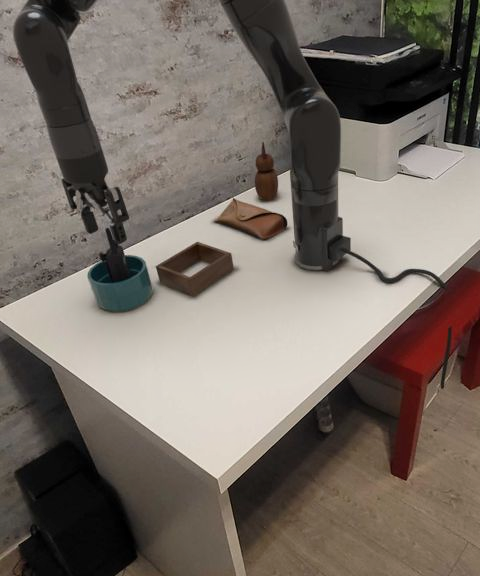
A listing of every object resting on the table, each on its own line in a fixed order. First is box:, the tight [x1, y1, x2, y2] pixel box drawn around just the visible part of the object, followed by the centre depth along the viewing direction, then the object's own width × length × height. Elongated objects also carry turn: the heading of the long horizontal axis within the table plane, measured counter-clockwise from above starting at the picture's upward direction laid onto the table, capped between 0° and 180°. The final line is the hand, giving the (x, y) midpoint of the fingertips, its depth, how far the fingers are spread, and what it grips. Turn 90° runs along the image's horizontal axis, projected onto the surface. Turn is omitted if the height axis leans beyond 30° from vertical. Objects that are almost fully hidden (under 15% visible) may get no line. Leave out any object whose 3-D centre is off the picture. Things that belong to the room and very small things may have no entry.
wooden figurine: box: [254, 141, 279, 201], centre depth 135 cm, size 7×6×15 cm
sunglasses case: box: [214, 197, 288, 240], centre depth 127 cm, size 18×7×7 cm, turn 49°
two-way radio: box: [98, 227, 132, 283], centre depth 102 cm, size 6×4×15 cm
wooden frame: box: [155, 241, 235, 297], centre depth 110 cm, size 10×12×4 cm
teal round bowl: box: [87, 254, 154, 313], centre depth 105 cm, size 11×11×6 cm
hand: (106, 236), depth 98 cm, fingers open, 8 cm apart
